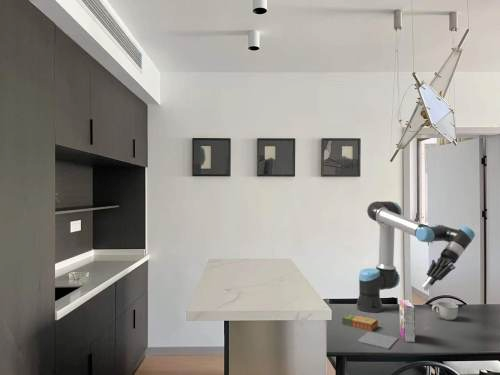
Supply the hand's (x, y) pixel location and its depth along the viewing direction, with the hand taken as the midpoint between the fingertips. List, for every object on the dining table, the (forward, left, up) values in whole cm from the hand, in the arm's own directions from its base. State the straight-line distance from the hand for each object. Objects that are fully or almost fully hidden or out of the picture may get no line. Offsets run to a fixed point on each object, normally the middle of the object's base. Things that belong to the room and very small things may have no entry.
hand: (424, 288), depth 177 cm
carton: (+5, -30, -23) cm, 38 cm away
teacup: (-36, +3, -23) cm, 43 cm away
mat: (+20, -16, -23) cm, 34 cm away
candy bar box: (+8, -6, -23) cm, 25 cm away
